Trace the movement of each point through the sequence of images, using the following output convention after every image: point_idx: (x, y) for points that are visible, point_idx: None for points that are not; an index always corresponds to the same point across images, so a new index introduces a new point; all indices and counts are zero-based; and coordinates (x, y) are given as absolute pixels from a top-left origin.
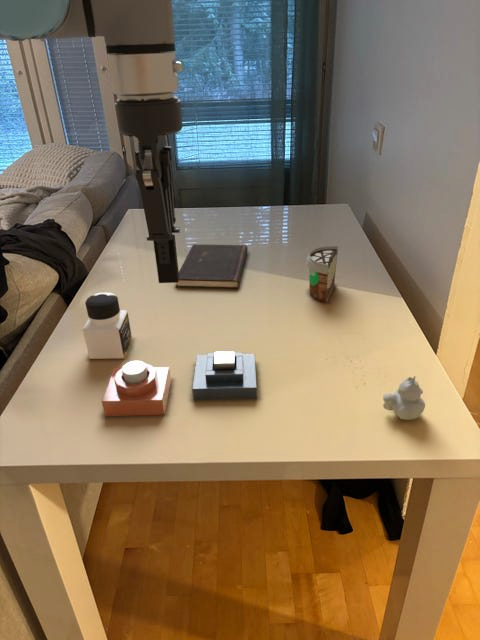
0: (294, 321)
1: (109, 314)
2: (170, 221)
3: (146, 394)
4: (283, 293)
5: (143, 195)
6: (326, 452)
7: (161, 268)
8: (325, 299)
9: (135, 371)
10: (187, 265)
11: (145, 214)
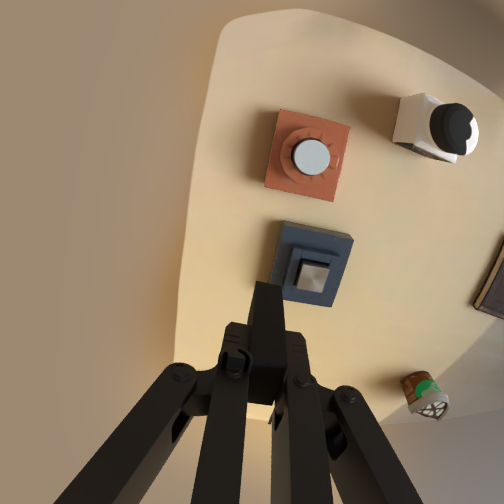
0: (386, 350)
1: (434, 135)
2: (272, 435)
3: (280, 167)
4: (438, 348)
5: (66, 496)
6: (182, 324)
7: (252, 311)
8: (401, 383)
9: (300, 159)
10: None
11: (111, 437)
